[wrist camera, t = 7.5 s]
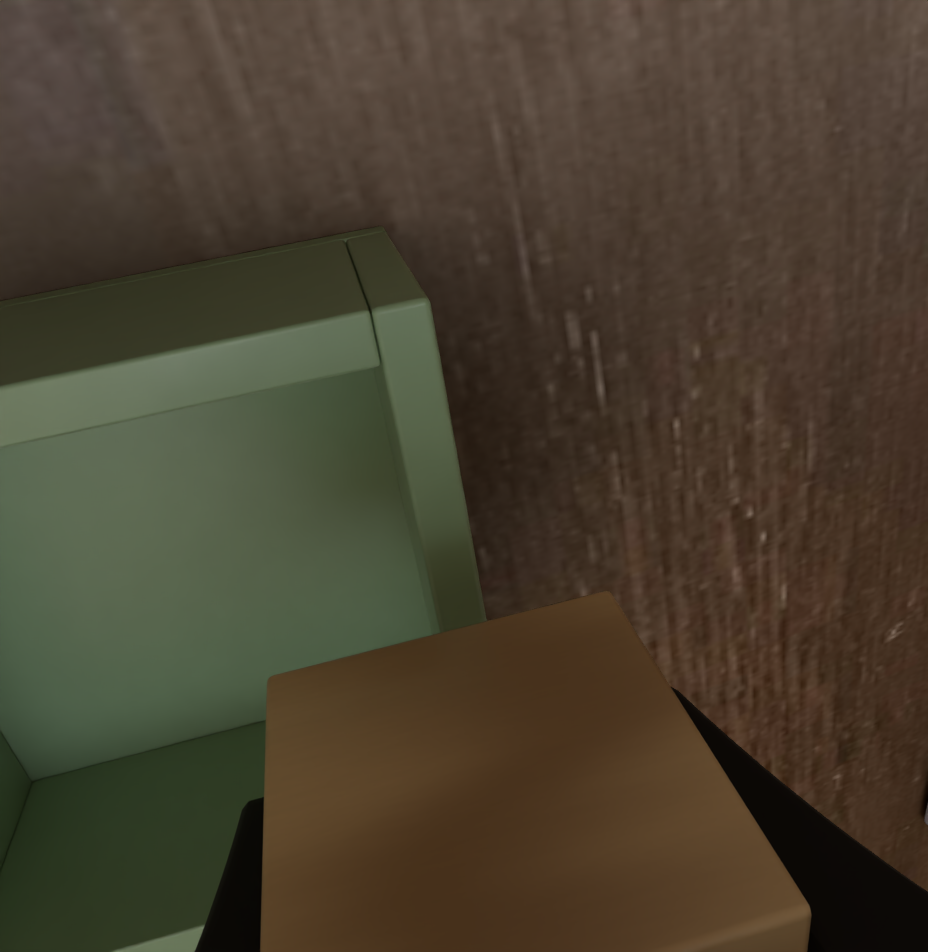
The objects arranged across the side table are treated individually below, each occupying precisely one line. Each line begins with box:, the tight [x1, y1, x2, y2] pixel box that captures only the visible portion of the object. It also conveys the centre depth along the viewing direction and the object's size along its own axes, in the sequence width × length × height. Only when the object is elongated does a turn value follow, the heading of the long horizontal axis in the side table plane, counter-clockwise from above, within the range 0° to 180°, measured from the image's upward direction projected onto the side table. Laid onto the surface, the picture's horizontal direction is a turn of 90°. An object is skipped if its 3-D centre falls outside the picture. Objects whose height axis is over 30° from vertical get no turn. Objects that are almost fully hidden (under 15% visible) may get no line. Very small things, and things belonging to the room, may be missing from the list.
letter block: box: [260, 591, 811, 952], centre depth 9 cm, size 4×4×4 cm
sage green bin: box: [0, 226, 487, 952], centre depth 15 cm, size 12×12×6 cm
